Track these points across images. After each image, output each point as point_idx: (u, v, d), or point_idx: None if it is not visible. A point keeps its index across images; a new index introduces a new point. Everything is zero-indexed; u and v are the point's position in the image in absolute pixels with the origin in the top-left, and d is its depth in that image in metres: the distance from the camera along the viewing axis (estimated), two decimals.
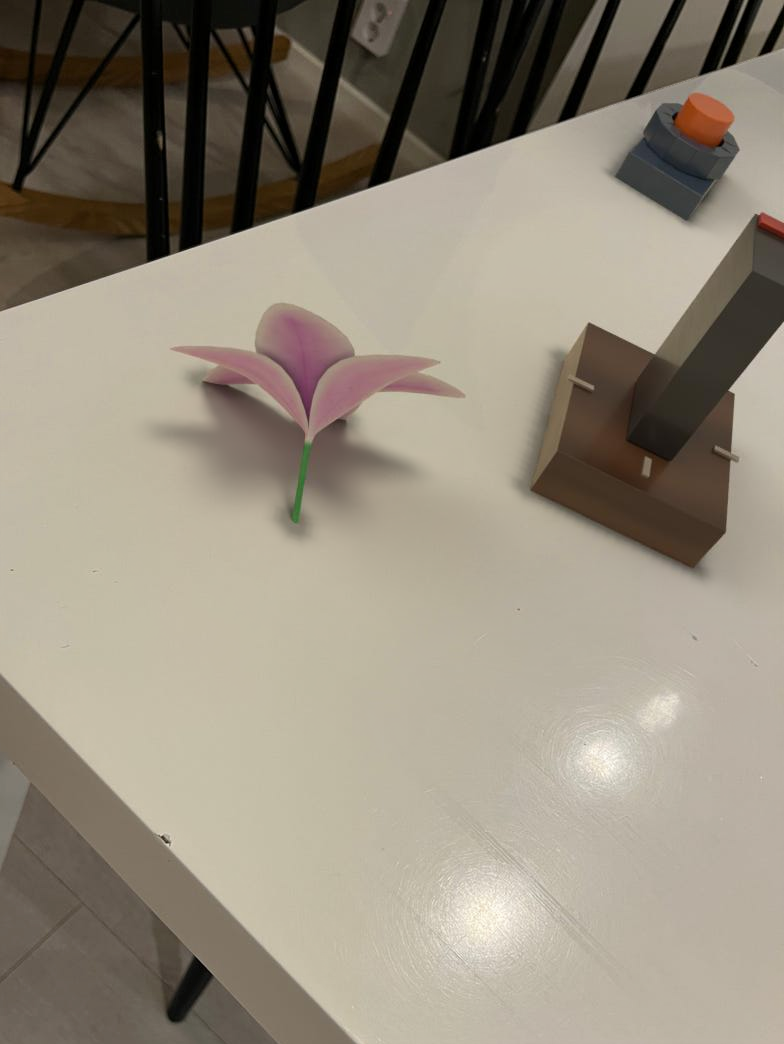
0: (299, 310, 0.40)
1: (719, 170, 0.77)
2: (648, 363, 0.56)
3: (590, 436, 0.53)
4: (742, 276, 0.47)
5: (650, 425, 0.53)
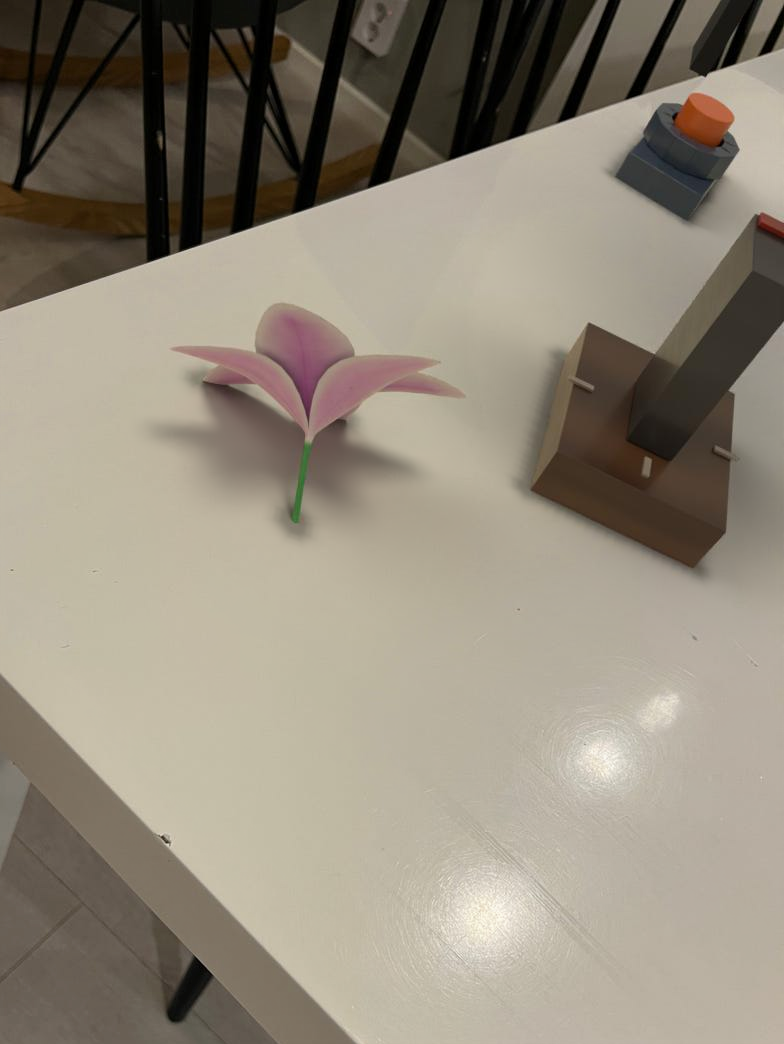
0: (299, 310, 0.40)
1: (719, 170, 0.77)
2: (648, 363, 0.56)
3: (590, 436, 0.53)
4: (742, 276, 0.47)
5: (650, 425, 0.53)
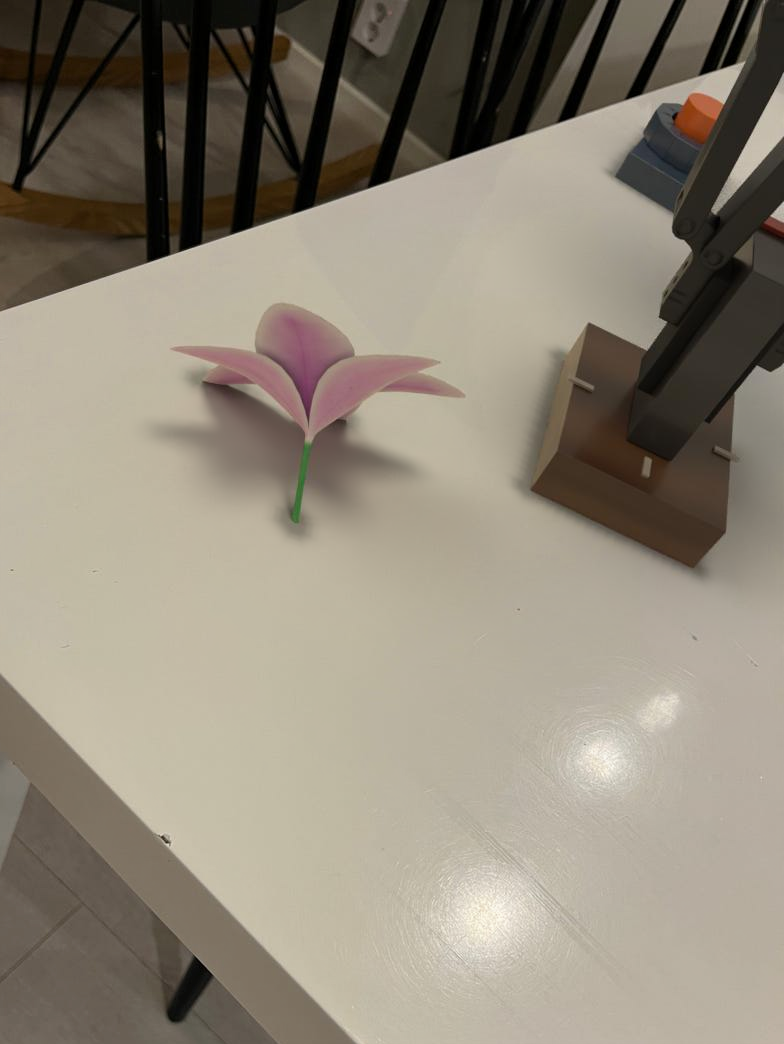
0: (299, 310, 0.40)
1: None
2: None
3: (590, 436, 0.53)
4: (742, 276, 0.47)
5: (650, 425, 0.53)
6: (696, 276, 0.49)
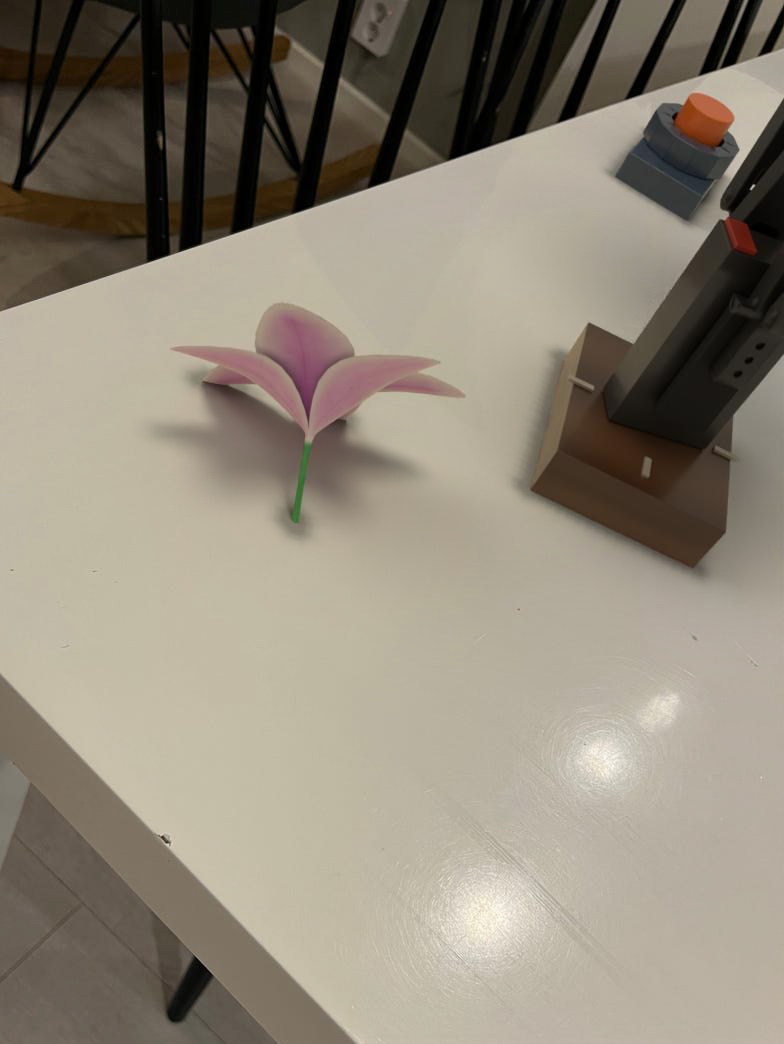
0: (299, 310, 0.40)
1: (719, 170, 0.77)
2: (623, 404, 0.53)
3: (590, 436, 0.53)
4: None
5: None
6: None
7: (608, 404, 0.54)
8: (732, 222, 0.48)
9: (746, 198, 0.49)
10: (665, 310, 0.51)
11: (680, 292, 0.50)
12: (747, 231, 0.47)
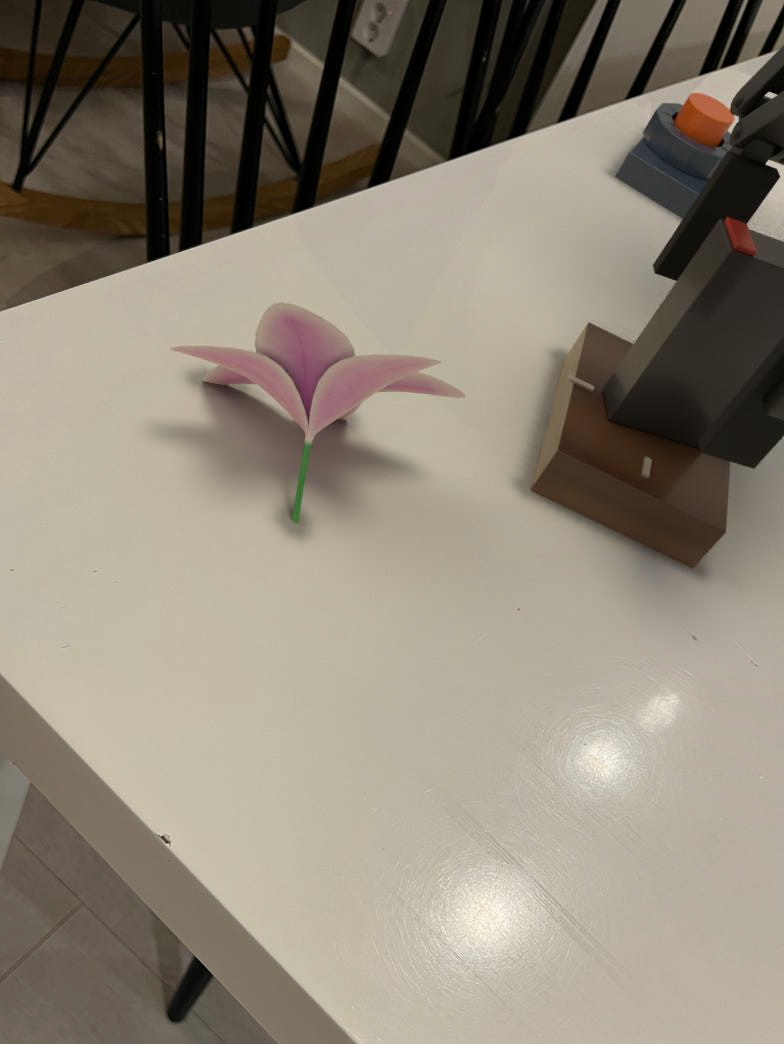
0: (299, 309, 0.40)
1: None
2: (623, 404, 0.53)
3: (590, 436, 0.53)
4: None
5: None
6: None
7: (608, 404, 0.54)
8: (732, 222, 0.48)
9: (758, 110, 0.50)
10: (665, 310, 0.51)
11: (680, 292, 0.50)
12: (747, 231, 0.47)
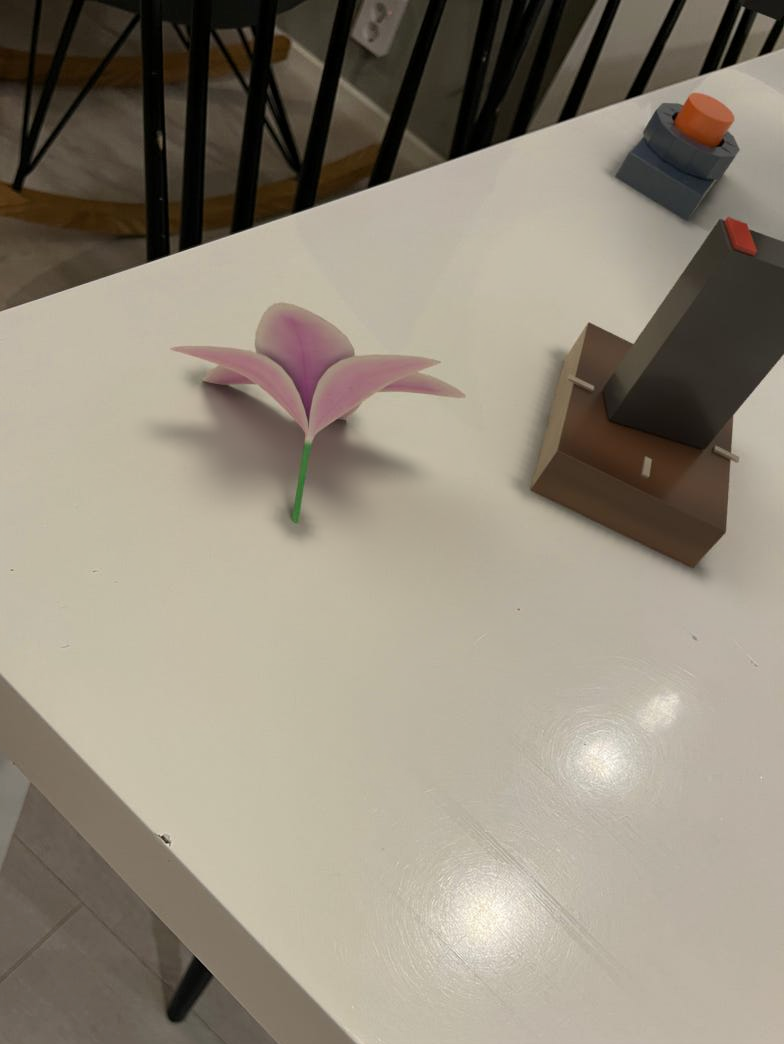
0: (299, 309, 0.40)
1: (719, 170, 0.77)
2: (623, 404, 0.53)
3: (590, 436, 0.53)
4: None
5: None
6: None
7: (608, 404, 0.54)
8: (732, 222, 0.48)
9: None
10: (665, 310, 0.51)
11: (680, 292, 0.50)
12: (747, 231, 0.47)
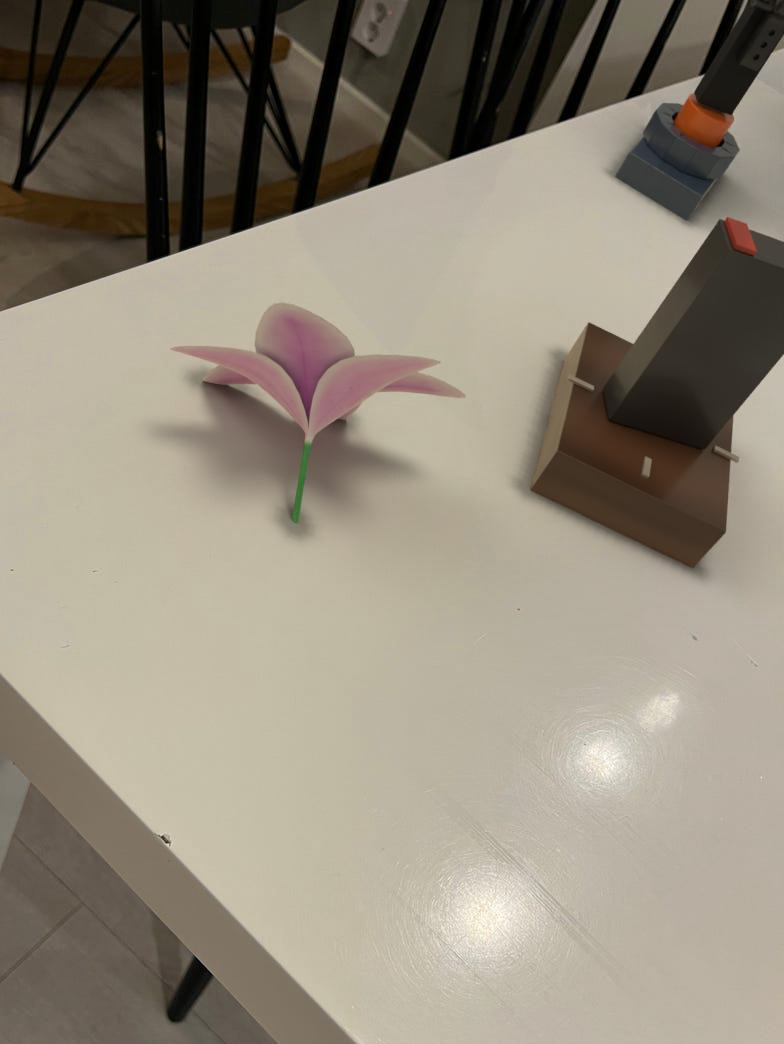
0: (299, 310, 0.40)
1: (719, 170, 0.77)
2: (623, 404, 0.53)
3: (590, 436, 0.53)
4: None
5: None
6: None
7: (608, 404, 0.54)
8: (732, 222, 0.48)
9: None
10: (665, 310, 0.51)
11: (680, 292, 0.50)
12: (747, 231, 0.47)
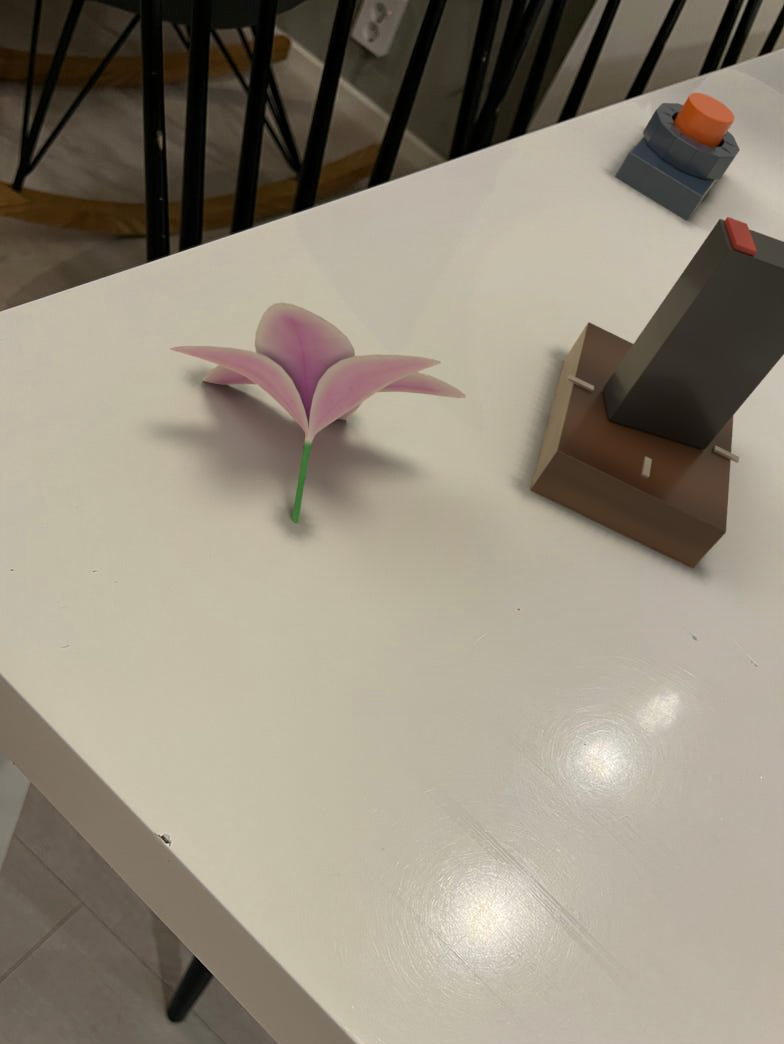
0: (299, 310, 0.40)
1: (719, 170, 0.77)
2: (623, 404, 0.53)
3: (590, 436, 0.53)
4: None
5: None
6: None
7: (608, 404, 0.54)
8: (732, 222, 0.48)
9: None
10: (665, 310, 0.51)
11: (680, 292, 0.50)
12: (747, 231, 0.47)
